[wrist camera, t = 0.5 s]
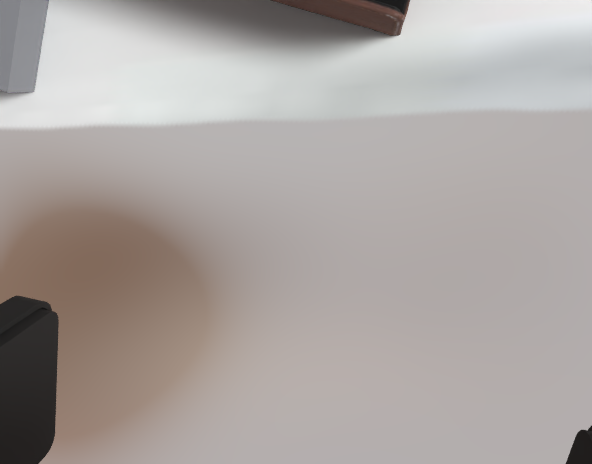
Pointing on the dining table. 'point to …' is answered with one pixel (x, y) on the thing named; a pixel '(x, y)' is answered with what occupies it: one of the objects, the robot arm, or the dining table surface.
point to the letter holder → (359, 12)
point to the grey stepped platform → (20, 43)
